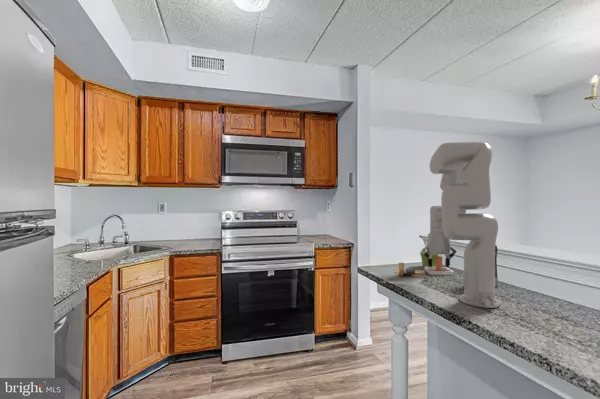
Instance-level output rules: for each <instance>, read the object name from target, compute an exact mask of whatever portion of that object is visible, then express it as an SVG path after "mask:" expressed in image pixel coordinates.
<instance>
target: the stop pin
mask: <svg viewBox="0 0 600 399" xmlns="http://www.w3.org/2000/svg"><path fill="white" fill-rule="evenodd" d="M442 267H443V256H441V255H438V256H436V270H435V271H443V270H442Z"/></svg>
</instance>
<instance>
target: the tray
mask: <svg viewBox="0 0 600 399" xmlns="http://www.w3.org/2000/svg"><path fill="white" fill-rule="evenodd" d="M423 269H424V271H425V272H427V274H429V275H431V276H452V277H453V278H455V277H456V273H455V271H454V270H452V269H450V267H449V268H448V267H446V266H442V271H436V267H423Z"/></svg>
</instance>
